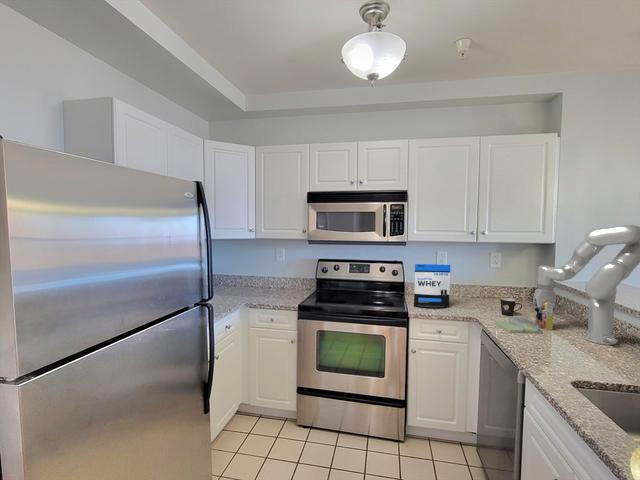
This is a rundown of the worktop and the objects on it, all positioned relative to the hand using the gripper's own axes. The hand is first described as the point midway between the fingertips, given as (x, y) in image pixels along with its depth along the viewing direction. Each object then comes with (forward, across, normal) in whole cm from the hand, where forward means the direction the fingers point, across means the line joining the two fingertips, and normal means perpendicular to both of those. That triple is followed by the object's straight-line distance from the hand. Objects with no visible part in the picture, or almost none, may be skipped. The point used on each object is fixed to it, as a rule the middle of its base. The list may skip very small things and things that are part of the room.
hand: (543, 319), depth 187 cm
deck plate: (+5, +16, +2) cm, 17 cm away
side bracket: (+3, +14, +4) cm, 15 cm away
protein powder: (+5, +49, -43) cm, 65 cm away
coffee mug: (+5, +5, -25) cm, 26 cm away
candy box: (+5, 0, 0) cm, 5 cm away
